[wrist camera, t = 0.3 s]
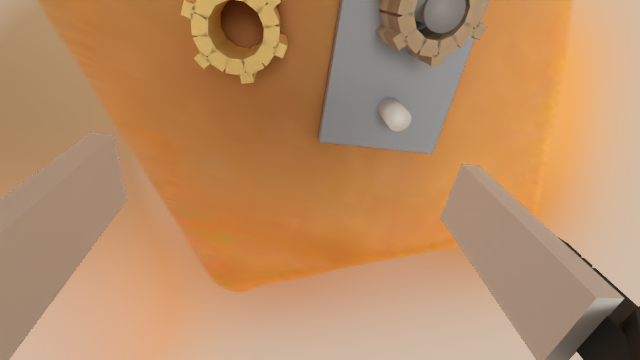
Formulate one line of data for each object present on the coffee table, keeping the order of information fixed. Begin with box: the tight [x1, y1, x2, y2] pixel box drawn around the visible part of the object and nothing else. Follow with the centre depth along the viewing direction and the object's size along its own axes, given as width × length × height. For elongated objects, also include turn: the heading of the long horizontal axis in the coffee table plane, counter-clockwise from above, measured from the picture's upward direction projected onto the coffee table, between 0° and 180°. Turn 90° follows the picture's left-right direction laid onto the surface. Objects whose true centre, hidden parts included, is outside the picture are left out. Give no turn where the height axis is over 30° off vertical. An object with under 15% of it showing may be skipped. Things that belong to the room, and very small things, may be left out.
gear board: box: [318, 0, 489, 154], centre depth 31 cm, size 20×14×8 cm
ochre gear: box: [181, 0, 287, 84], centre depth 29 cm, size 8×8×6 cm
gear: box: [375, 0, 487, 66], centre depth 28 cm, size 8×8×6 cm
